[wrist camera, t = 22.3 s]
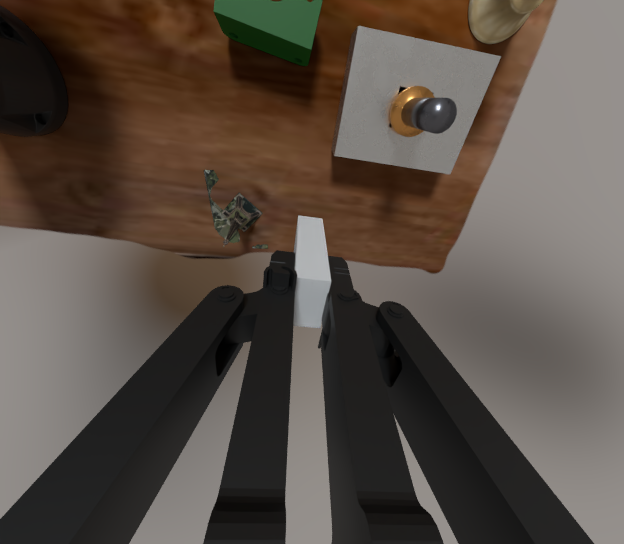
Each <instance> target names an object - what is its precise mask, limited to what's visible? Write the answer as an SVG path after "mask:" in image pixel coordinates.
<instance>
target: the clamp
mask: <svg viewBox="0 0 624 544" xmlns="http://www.w3.org/2000/svg"><path fill="white" fill-rule="evenodd" d="M321 5H322V0H313V1H312V2H308V1H307V0H282V1H278V2H275V1H270V0H215V3H214V13H215V16H216V18H217V20H218V22H219V24H220V27H221V29H222V31H223V33H224V34H225V35H226V36H228V37H229V38H231V39H233V40H235V41H237V42H240V43H243V44H245V45H248V46H251V47H253V48H256V49H258V50H261V51H264V52H266V53H269V54H272V55H274V56H277V57H279V58H282V59H285V60H287V61H290V62H292V63H295V64H298V65H301V66H307V65H308V64H309V59H310V55H311V51H312V46H313V41H314V36H315V32H316V27H317V23H318V19H319V14H320V10H321Z"/></svg>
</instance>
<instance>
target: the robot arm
mask: <svg viewBox="0 0 624 544" xmlns="http://www.w3.org/2000/svg"><path fill="white" fill-rule="evenodd" d="M67 108H68V99H67V92H66V87H65V84H64V81H63V78H62V75H61V73H60V71H59V68H58V66H57V65H56V63H55V61H54V59H53V57H52V56H51V54H50V53H49V51H48V50H47V48H46V47H45V46H44V44H43V43H42V42H41V41H40V39H39V38H38V37H37V36H36V35H35V34H34V33H33V31H32V30H31V29H30V28H29V27H28V26H27V25H26V24H24V23H23V22H22V21H21V20H20V19H19V18H17V17H16V16H15V15H14V14H12V13H11V12H10V11H8V10H7V9H5V8H4V7H2V6H0V133H4V134H9V135H14V136H24V137H29V136H37V135H45V134H49V133H51V132H53V131H55V130H56V129H58V128H59V127H60V126H61V125H62V123H63V121H64V120H65V117H66V114H67ZM321 323H322V327H323V328H322V333H321V337H320V341H319V345H318V348H320V347H321V352H322V368H323V384H324V401H325V417H326V432H327V447H328V465H329V483H330V499H331V515H332V544H443V540H442V538H441V535H440V533H439V530H438V527H437V525H436V523H435V522H434V520H433V518H432V516H431V515H430V514H429V513H428V512H427V511H426V510H425V509H423V507H422V506H421V505H420V503H419V502H418V500H417V497H416V494H415V491H414V487H413V484H412V480H411V476H410V473H409V469H408V465H407V462H406V458H405V455H404V451H403V447H402V444H401V440H400V437H399V433H398V430H397V426H396V422H395V419H394V415H395V418H396V420H397V422H398V423H399V426H400V427H401V430H402V431H403V434H404V436H405V438H406V440H407V441H408V443H409V446H410V447H411V449H412V452H413V453H414V455H415V458H416V460H417V462H418V464H419V466H420V468H421V469H422V472H423V474H424V476H425V477H426V480H427V482H428V484H429V485H430V487H431V490H432V492H433V494H434V495H435V498H436V500H437V502H438V504H439V505H440V508H441V509H442V512H443V513H444V516H445V517H446V520H447V522H448V524H449V525H450V527H451V529H452V531H453V533H454V535H455V537H456V539H457V541H458V543H459V544H594V543H593V542H592V540H591V539H590V538H589V537H588V535H587V534H586V533H585V532H584V530H583V529H582V528H581V527H580V525H579V524H578V523H577V522H576V520H575V519H574V518H573V517H572V515H571V514H570V513H569V511H568V510H567V509H566V508H565V507H564V505H563V504H562V503H561V501H560V500H559V499H558V498H557V496H556V495H555V494H554V493H553V491H552V490H551V489H550V488H549V486H548V485H547V484H546V483H545V481H544V480H543V479H542V478H541V476H540V475H539V474H538V473H537V471H536V470H535V469H534V467H533V466H532V465H531V464H530V462H529V461H528V460H527V459H526V457H525V456H524V455H523V454H522V453H521V451H520V450H519V449H518V447H517V446H516V445H515V444H514V442H513V441H512V440H511V439H510V437H509V436H508V435H507V434H506V433H505V431H504V430H503V429H502V427H501V426H500V425H499V424H498V422H497V421H496V420H495V418H494V417H493V416H492V415H491V413H490V412H489V411H488V410H487V408H486V407H485V406H484V405H483V403H482V402H481V401H480V400H479V398H478V397H477V396H476V395H475V393H474V392H473V391H472V390H471V389H470V387H469V386H468V385H467V383H466V382H465V381H464V380H463V378H462V377H461V376H460V375H459V373H458V372H457V371H456V369H455V368H454V367H453V366H452V364H451V363H450V362H449V361H448V359H447V358H446V357H445V356H444V355H443V353H442V352H441V351H440V350H439V348H438V347H437V346H436V344H435V343H434V342H433V340H432V339H431V338H430V337H429V335H428V334H427V333H426V332H425V330H424V329H423V328H422V327H421V325H420V324H419V323H418V322H417V320H416V319H415V318H414V317H413V315H412V314H411V313H410V312H409V310H408V309H406V308H405V307H404V306H402V305H401V304H398V303H395V302H391V301H387V302H383V303H382V304H381V305H380V307H376V306H373V305H370V304H367V303H365V302H363V301H362V299H361V297H360V295H359V293H357V292H356V291H355V290H354V289H353V285H352V281H351V277H350V273H349V270H348V265H347V263H346V261H345V260H344V259H343V258H341V257H333V256H328V254H327V247H326V240H325V233H324V226H323V219H320V218H313V217H306V216H298V223H297V230H296V238H295V246H294V253H293V252H285V251H276V252H275V253H273V254H272V256H271V261H270V266H269V267H267V268H266V269H265V271H264V282H263V288H262V289H261V290H259V291H257V292H253V293H247V294H243V291H242V290H241V289H240V288H237V287H235V286H229V285H227V286H220V287H217V288H215V289H213V290H212V291H211V292H210V293H209V294H208V295H207V296H206V297H205V298H204V299H203V300H202V301H201V302H200V304H199V305H198V306H197V307H196V308H195V309H194V310H193V311H192V312H191V313H190V315H189V316H188V317H187V318H186V319H185V320H184V321H183V322H182V323H181V324H180V325H179V326H178V327H177V328H176V330H175V331H174V332H173V333H172V334H171V335H170V336H169V337H168V338H167V339H166V340H165V341H164V343H163V344H162V345H161V346H160V347H159V348H158V349H157V350H156V351H155V352H154V353H153V354H152V355H151V357H150V358H149V359H148V360H147V361H146V362H145V363H144V364H143V365H142V366H141V367H140V369H139V370H138V371H137V372H136V373H135V374H134V375H133V376H132V377H131V378H130V379H129V380H128V382H127V383H126V384H125V385H124V386H123V387H122V388H121V389H120V390H119V391H118V392H117V394H116V395H115V396H114V397H113V398H112V399H111V400H110V401H109V402H108V403H107V404H106V405H105V406H104V407H103V409H102V410H101V411H100V412H99V413H98V414H97V415H96V416H95V417H94V418H93V419H92V420H91V422H90V423H89V424H88V425H87V426H86V427H85V428H84V429H83V430H82V431H81V432H80V434H79V435H78V436H77V437H76V438H75V439H74V440H73V441H72V442H71V443H70V444H69V445H68V447H67V448H66V449H65V450H64V451H63V452H62V453H61V454H60V455H59V456H58V457H57V458H56V459H55V461H54V462H53V463H52V464H51V465H50V466H49V467H48V468H47V469H46V470H45V471H44V472H43V474H42V475H41V476H40V477H39V478H38V479H37V480H36V481H35V482H34V483H33V484H32V486H31V487H30V488H29V489H28V490H27V491H26V492H25V493H24V494H23V495H22V496H21V497H20V499H19V500H18V501H17V502H16V503H15V504H14V505H13V506H12V507H11V508H10V509H9V510H8V512H7V513H6V514H5V515H4V516H3V517H2V518H1V519H0V544H129V543H130V541H131V539H132V537H133V536H134V534H135V532H136V530H137V529H138V527H139V525H140V523H141V522H142V520H143V518H144V517H145V515H146V513H147V511H148V510H149V508H150V506H151V504H152V502H153V501H154V499H155V497H156V496H157V494H158V492H159V490H160V489H161V487H162V485H163V483H164V482H165V480H166V478H167V476H168V475H169V473H170V471H171V469H172V468H173V466H174V464H175V463H176V461H177V459H178V457H179V455H180V453H181V452H182V450H183V448H184V447H185V445H186V443H187V442H188V440H189V438H190V436H191V435H192V433H193V431H194V429H195V428H196V426H197V424H198V422H199V420H200V419H201V417H202V415H203V414H204V412H205V410H206V409H207V407H208V405H209V403H210V402H211V400H212V398H213V396H214V394H215V393H216V391H217V389H218V388H219V386H220V384H221V382H222V381H223V379H224V377H225V375H226V374H227V372H228V370H229V368H230V366H231V365H232V363H233V362H234V360H235V358H236V356H237V355H238V353H239V351H240V349H241V348H242V346H243V343H244V342H249V341H252V342H251V346H250V351H249V356H248V360H247V365H246V369H245V374H244V379H243V383H242V388H241V393H240V397H239V402H238V407H237V411H236V415H235V420H234V425H233V429H232V434H231V439H230V443H229V448H228V452H227V457H226V462H225V466H224V471H223V476H222V480H221V485H220V489H219V494H218V497H217V501H216V503H215V506H214V508H213V510H212V513H211V516H210V520H209V523H208V527H207V531H206V535H205V539H204V543H203V544H285V535H286V508H285V486H286V465H287V445H288V423H289V403H290V383H291V362H292V341H293V326H303V327H314V328H320V327H321ZM393 414H394V415H393Z"/></svg>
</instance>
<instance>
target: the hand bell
mask: <svg viewBox="0 0 624 544" xmlns="http://www.w3.org/2000/svg"><path fill="white" fill-rule="evenodd" d="M543 1H544V0H470V3H469V9H468V20H469V25H470V29H471V32H472V33H473V35H474V36H475V37H476V39H477V40H479V41H480V42H483V43H486V44H495V43H499V42H502V41H504V40H506V39H507V38H509V37H510V36H512V35H513V34H514V33H515V32H516V31H517V30H518V29H519V28H520V27H521V26H522V25H523V24H524V22H525V21H526V20H527V18H528V17H529V15H530V13H531V12H532V11H533V10H534V9H536V8H537V7H538V6H539V5H540V4H541V3H542V2H543Z"/></svg>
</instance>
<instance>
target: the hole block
mask: <svg viewBox="0 0 624 544" xmlns="http://www.w3.org/2000/svg"><path fill="white" fill-rule="evenodd" d="M500 58H501V56H497V55H492V54H488V53H483V52H478V51H474V50H469V49H464V48H460V47H455V46H450V45H446V44H441V43H436V42H432V41H427V40H422V39H418V38H413V37H408V36H404V35H399V34H394V33H390V32H385V31H380V30H376V29H371V28H366V27H362V26H358V27H357V28H356V30H355V31H354V32H353V34H352V36H351V42H350V47H349V53H348V59H347V64H346V70H345V76H344V82H343V87H342V93H341V99H340V104H339V110H338V116H337V121H336V127H335V133H334V138H333V144H332V152H333V154H334V156H338V157H344V158H351V159H357V160H363V161H369V162H376V163H382V164H388V165H394V166H401V167H407V168H413V169H419V170H426V171H432V172H438V173H444V174H451V171H452V169H453V167H454V164H455V162H456V160H457V157H458V155H459V153H460V150H461V148H462V146H463V144H464V141H465V139H466V137H467V134H468V132H469V130H470V127H471V125H472V123H473V120H474V118H475V116H476V113H477V111H478V109H479V107H480V104H481V102H482V100H483V97H484V95H485V93H486V90H487V88H488V86H489V83H490V81H491V79H492V77H493V74H494V72H495V70H496V67H497V65H498V63H499V60H500ZM412 86H423V87H426V88H428V89H429V90H430V91H431V92H432V93H433V95H434V97H435V98H450V99H452V100H453V101H454V102H455V104H456V107H457V114H456V118H455V120H454V122H453V124H452V125H451V127H450V128H449V129H447V130H446V131H444V132H442V133H439V134H434V133H430V132H427V131H423V132H422V133H420V134H419V135H416V136H413V137H405V136H402V135H400V134H398V133H396V132H395V131H394V130H393V129H392V127H391V126H389V124H390V122H389V110H390V106H391V104H392V102H393V100H394V98H395V97H396V96H397V95H398V92H399V90H404V89H406V88H408V87H412Z"/></svg>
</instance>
